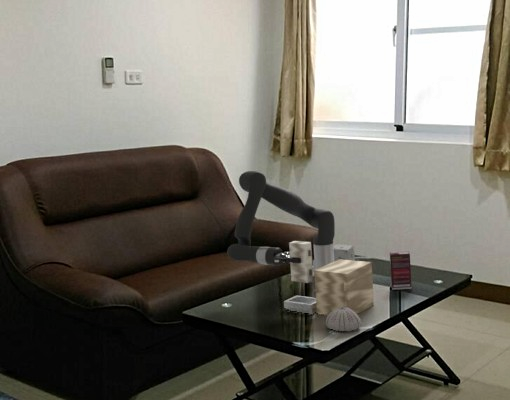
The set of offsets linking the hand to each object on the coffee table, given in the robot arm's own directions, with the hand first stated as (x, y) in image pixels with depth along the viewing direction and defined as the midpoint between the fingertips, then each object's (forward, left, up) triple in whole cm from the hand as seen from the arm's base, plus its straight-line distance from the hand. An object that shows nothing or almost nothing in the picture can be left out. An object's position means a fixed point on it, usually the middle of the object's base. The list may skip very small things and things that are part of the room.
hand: (303, 259), depth 323 cm
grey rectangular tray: (-1, 0, -21) cm, 21 cm away
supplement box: (+21, +44, -21) cm, 53 cm away
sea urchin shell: (+26, -14, -22) cm, 36 cm away
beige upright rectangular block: (-1, 0, -9) cm, 9 cm away
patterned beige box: (+13, +7, -21) cm, 26 cm away
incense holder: (-23, +69, -21) cm, 76 cm away
